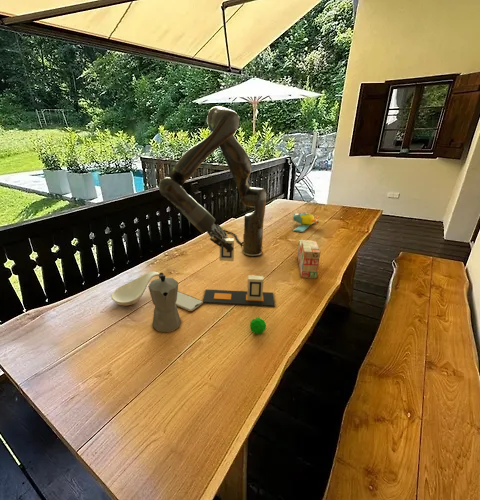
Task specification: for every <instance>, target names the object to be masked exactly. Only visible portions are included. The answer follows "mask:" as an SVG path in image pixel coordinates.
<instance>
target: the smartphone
mask: <svg viewBox="0 0 480 500" xmlns="http://www.w3.org/2000/svg"><path fill="white" fill-rule="evenodd" d="M175 304H176V306H177V307H178V308H181V309H183V310H186V311H188V312H193V311H194V310H196V309H197V308H199V307H200V306H201V305H202V304H204V303H203V300H202V299H199V298H197V297H193V296H192V295H189V294H186V293H183V292H180V291H179V290H178V291H177V301H176V303H175Z"/></svg>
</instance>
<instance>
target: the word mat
mask: <svg viewBox="0 0 480 500" xmlns="http://www.w3.org/2000/svg"><path fill="white" fill-rule="evenodd" d="M202 301H203V303H202V304H212V305H213V304H214V305H215V304H216V305H230V306H231V305H232V306H233V305H234V306H248V307H249V306H250V307H252V306H253V307H268V308H269V307H270V308H275V305H276V304H275V299H274V293H273V292H266V291H263V297H262V300H250V299H247V290H246V291H244V290H226V289H225V290H224V289H223V290H222V289H205V291H204V296H203V300H202Z"/></svg>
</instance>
